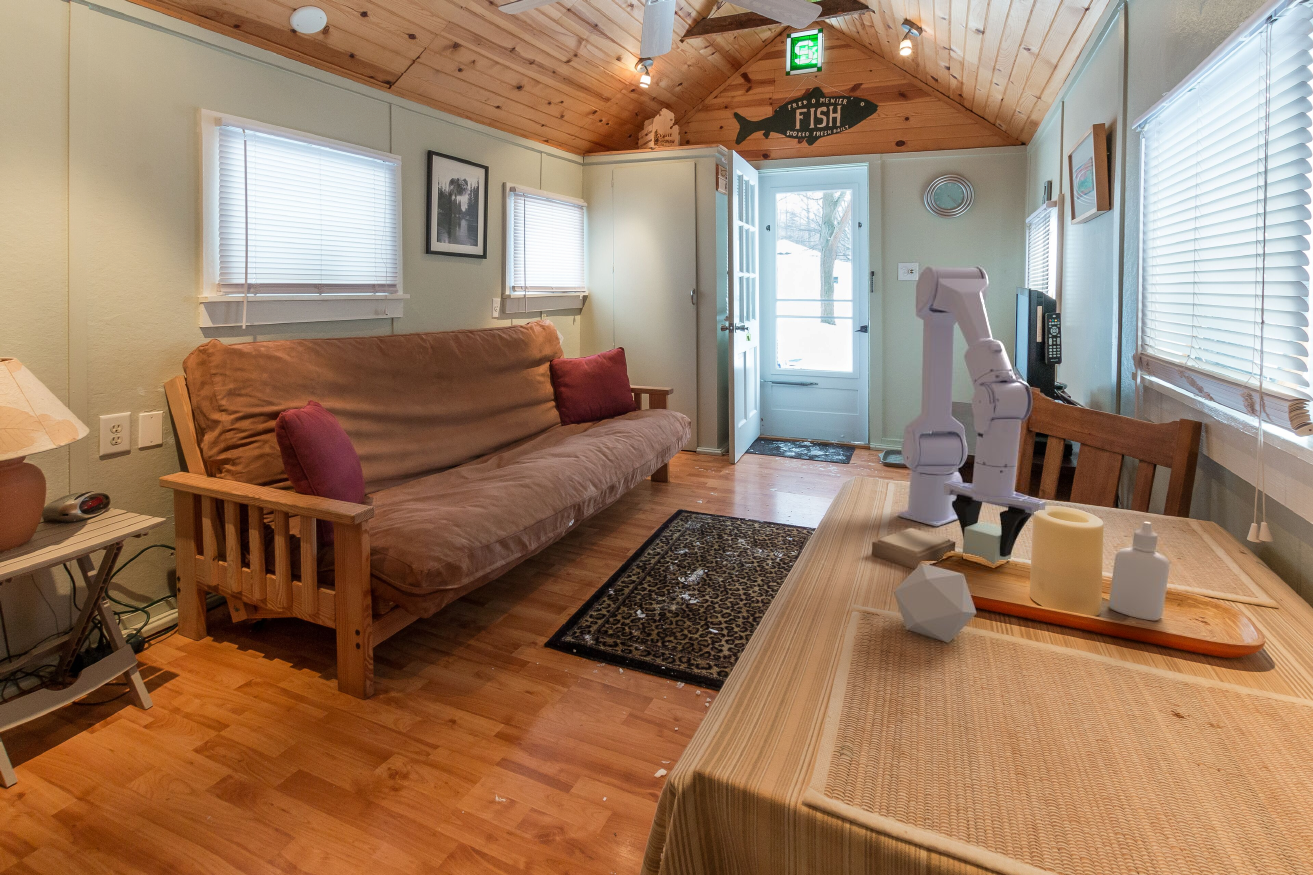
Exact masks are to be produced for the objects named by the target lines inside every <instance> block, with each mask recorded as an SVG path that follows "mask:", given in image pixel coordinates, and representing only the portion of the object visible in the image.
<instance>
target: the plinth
mask: <svg viewBox="0 0 1313 875" xmlns="http://www.w3.org/2000/svg"><path fill="white" fill-rule="evenodd" d="M951 551H955V552H956V541H954V540H951V538H949V537H948V538H947V537H944V536H940V535H937V534H933V533H930V532H926V531H923V530H920V529H916V528H912V527H909V528H907V529H904V530H901V531H899V532H895V533H892V534H890V535H886V536H884V537H881V538H878V539H875V540H873V541H872V542H871V556H873V557H877V558H879V559H883V560H886V561H888V562H892V563H894V564H898V565H900V566H904V567H907V568H909V569H912V570H915V569H916V568H917V567H918V565H919V563H920V562H921V561H939V560H940V559H942V558H943V556H944V554H946V553H947V552H951Z"/></svg>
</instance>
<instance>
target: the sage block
mask: <svg viewBox="0 0 1313 875" xmlns="http://www.w3.org/2000/svg"><path fill="white" fill-rule="evenodd" d="M1000 543H1001V525H998V524H994V523H989V522H987V521H986V522H985V521H979V522H978V523H976V524H973V525H971V526H968V527H965V530H964V540H963V544H962V551H961V553H965V554H971V555H975V556H979V557H982V558H984V559H986V560H987V561H989V562H991V563H992V564H995V563H996V562H998V561H999V560H1008V559H1012V554H1011V555H1008V556H1006V557H1002V556H1000Z"/></svg>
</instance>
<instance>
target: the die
mask: <svg viewBox="0 0 1313 875" xmlns="http://www.w3.org/2000/svg"><path fill="white" fill-rule="evenodd" d="M893 594H894V598H895V600H896V603H897V605H898V608H899V611H900V614H901V618H902V621H903V623H904V626H905V630H908V631H911V632H913V633H916V634H920V635H923V636H926V637H928V638H932V639H934V640H938V641H941V642H944V643H947V644H949V643H950V642H951V641H952V640H953V639H954V638H955V637H956V636H957V634H959V633H960V632H961V631H962V629H963V628H964V627H965V626H966V625H967V624H968V623H969V622H970V621H971V620H972V619H973V618H974V616H975V615H977V610H976V607H975V604H974V601H973V598H972V595H971V592H970V589H969V586H968V583H967V581H966V577H965V573H962V572H958V571H953V570H951V569H946V568H942V567H939V566H934V565H927V564H923V563H921V564H920V565H919V566H918V567H917V568H916V569H913V570H912V572H911V573H910V574H909V575H908V576H907V577H906V578H905V579H904V580H903V581H902V582H901V583H900V584H899V585H898V586H897V587H896V588H895V589H894V590H893Z"/></svg>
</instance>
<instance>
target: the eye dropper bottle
mask: <svg viewBox="0 0 1313 875" xmlns="http://www.w3.org/2000/svg"><path fill="white" fill-rule="evenodd" d="M1158 536H1159V535H1158V534H1157V533H1156V532H1155V531H1153V529H1152V522H1149V521H1144V522H1143V524H1142V527H1141V529H1137V530H1135V531H1134V532H1133V539H1132V547H1124V548H1121V549H1119V550H1118V551H1117V552H1116V554H1115V558H1114V564H1113V569H1112V570H1113V571H1112V577H1111V584H1110V585H1111V586H1110V591H1109V600H1108V607H1109V609H1111V610H1112V611H1115V612H1117V613H1120V614H1123V615H1126V616H1129V617H1133V618H1137V619H1141V620H1147V621H1156V622H1157V621H1159V620H1160V619H1161V617H1163V613H1164V607H1165V600H1166V594H1167V588H1168V581H1169V580H1168V579H1169V573H1170V564H1171V563H1170V561H1169V559H1168V558H1167V557H1166V556H1164V555H1163V554H1161V553H1159V552H1157V551H1156V550H1157V545H1158V544H1157V543H1158Z"/></svg>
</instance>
